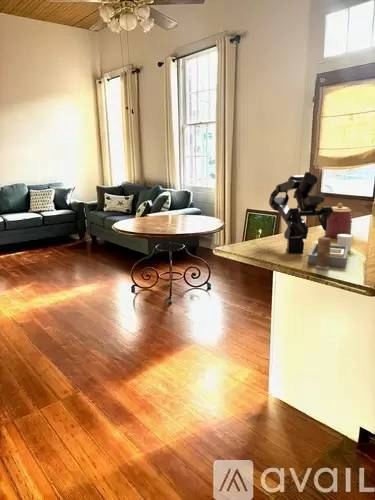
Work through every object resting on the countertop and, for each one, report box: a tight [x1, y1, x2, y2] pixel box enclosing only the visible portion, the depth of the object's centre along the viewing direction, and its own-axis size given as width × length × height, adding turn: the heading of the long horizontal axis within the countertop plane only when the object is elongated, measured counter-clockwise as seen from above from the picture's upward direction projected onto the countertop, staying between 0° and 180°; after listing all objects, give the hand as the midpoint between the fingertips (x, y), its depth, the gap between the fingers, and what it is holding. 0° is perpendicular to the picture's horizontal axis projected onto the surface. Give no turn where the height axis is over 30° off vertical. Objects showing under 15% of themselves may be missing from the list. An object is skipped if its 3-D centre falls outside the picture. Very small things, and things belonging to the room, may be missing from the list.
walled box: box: [307, 243, 349, 269], centre depth 155 cm, size 14×20×5 cm
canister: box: [324, 202, 354, 239], centre depth 194 cm, size 13×13×18 cm
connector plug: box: [315, 236, 332, 271], centre depth 142 cm, size 5×5×12 cm
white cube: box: [336, 234, 354, 252], centre depth 168 cm, size 7×7×7 cm
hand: (315, 230), depth 148 cm, fingers open, 9 cm apart
